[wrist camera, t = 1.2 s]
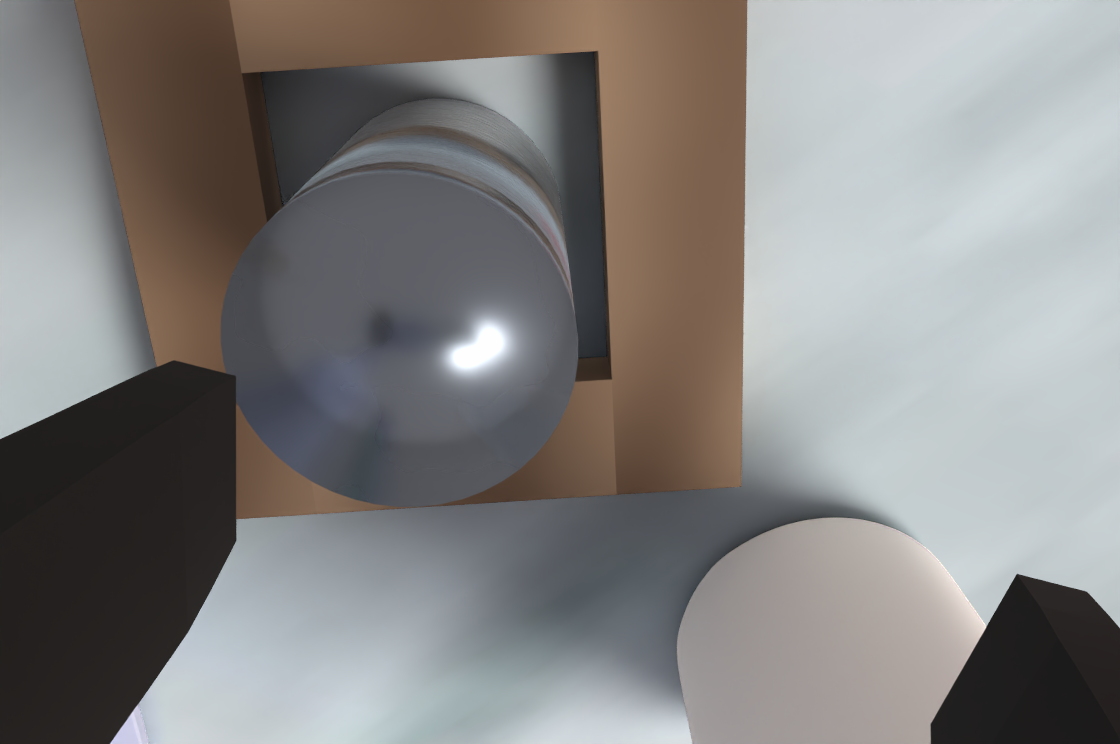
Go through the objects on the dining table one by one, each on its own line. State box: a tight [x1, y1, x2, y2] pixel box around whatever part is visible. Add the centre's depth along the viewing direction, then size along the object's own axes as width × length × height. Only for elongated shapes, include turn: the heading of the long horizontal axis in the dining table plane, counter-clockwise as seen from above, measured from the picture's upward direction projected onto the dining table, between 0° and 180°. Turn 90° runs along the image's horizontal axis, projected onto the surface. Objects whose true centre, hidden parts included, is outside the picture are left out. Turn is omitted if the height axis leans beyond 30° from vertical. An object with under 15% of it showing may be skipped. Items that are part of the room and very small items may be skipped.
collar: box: [74, 0, 747, 519], centre depth 19 cm, size 11×11×1 cm
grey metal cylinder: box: [221, 98, 578, 507], centre depth 16 cm, size 4×4×7 cm
